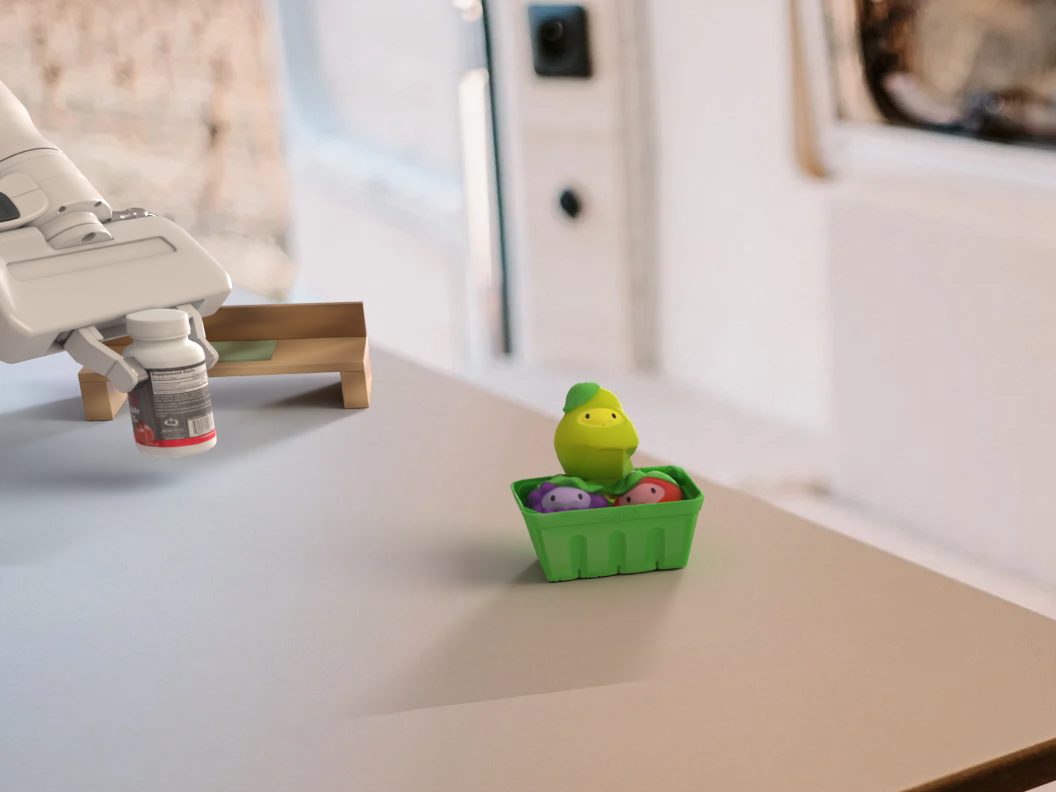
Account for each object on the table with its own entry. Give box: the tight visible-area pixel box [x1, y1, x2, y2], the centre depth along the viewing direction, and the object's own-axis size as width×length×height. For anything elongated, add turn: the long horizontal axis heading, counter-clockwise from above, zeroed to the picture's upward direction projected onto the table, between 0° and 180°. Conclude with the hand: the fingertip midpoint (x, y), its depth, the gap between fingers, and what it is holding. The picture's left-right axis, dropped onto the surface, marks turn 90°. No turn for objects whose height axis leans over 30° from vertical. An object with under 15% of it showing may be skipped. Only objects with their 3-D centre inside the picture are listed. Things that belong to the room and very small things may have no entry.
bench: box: [77, 300, 373, 422], centre depth 139 cm, size 22×11×7 cm, turn 107°
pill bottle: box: [122, 309, 217, 458], centre depth 115 cm, size 5×5×10 cm
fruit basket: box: [510, 381, 706, 583], centre depth 104 cm, size 11×9×11 cm
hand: (173, 376), depth 115 cm, fingers closed on pill bottle, 5 cm apart
